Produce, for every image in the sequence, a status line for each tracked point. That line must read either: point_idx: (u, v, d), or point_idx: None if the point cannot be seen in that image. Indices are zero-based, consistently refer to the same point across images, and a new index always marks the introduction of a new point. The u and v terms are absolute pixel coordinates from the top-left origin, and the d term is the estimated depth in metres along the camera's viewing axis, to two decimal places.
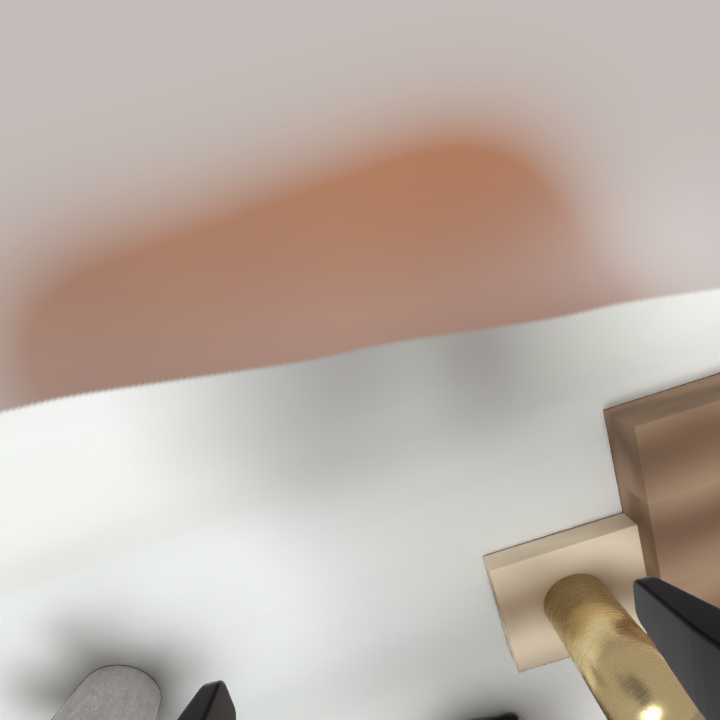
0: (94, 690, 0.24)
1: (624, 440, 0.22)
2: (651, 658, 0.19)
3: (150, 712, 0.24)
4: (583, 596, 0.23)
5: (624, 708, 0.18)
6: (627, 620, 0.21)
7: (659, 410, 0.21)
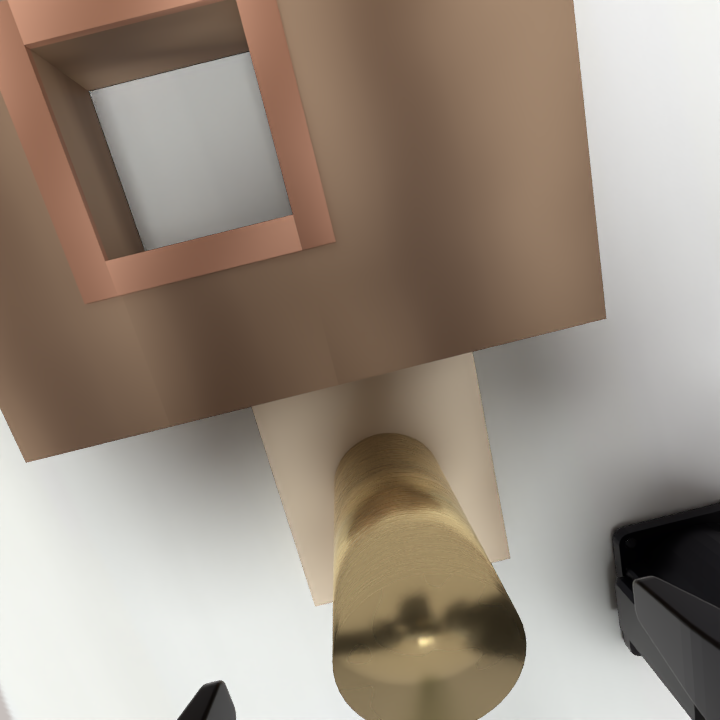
0: None
1: None
2: (334, 585, 0.10)
3: None
4: None
5: None
6: (339, 516, 0.12)
7: None
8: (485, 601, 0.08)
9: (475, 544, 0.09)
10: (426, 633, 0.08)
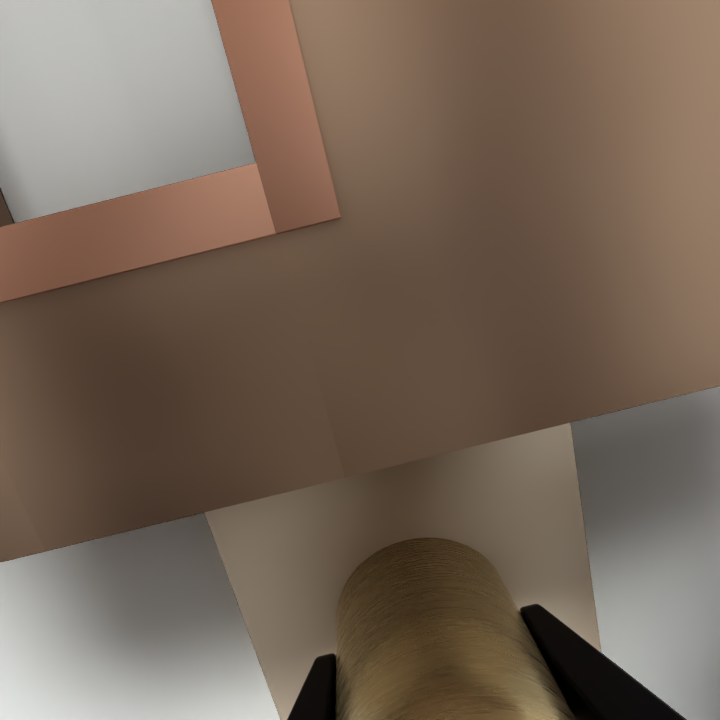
0: None
1: None
2: None
3: None
4: None
5: None
6: None
7: None
8: None
9: None
10: None
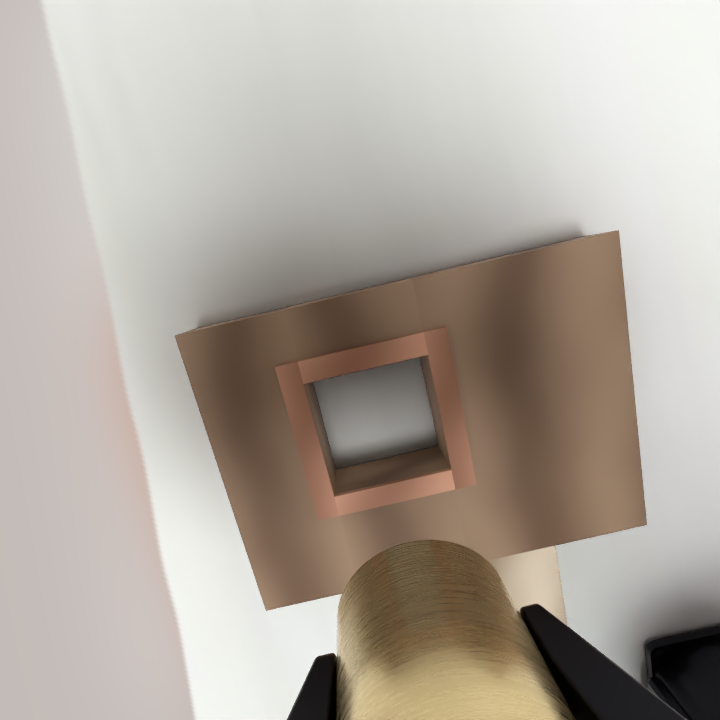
0: None
1: None
2: None
3: None
4: None
5: None
6: None
7: None
8: None
9: None
10: None
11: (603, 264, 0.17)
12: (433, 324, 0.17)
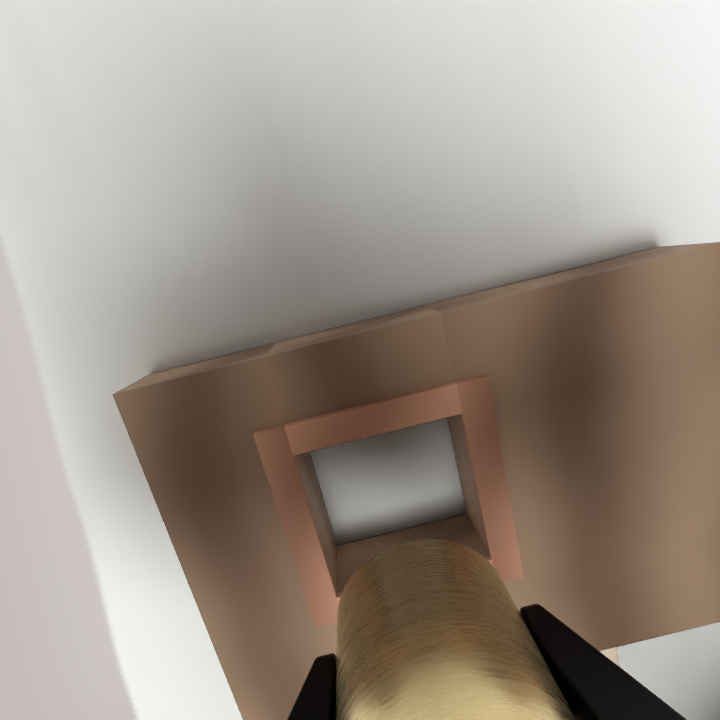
0: None
1: None
2: None
3: None
4: None
5: None
6: None
7: None
8: None
9: None
10: None
11: (700, 288, 0.12)
12: (469, 373, 0.13)
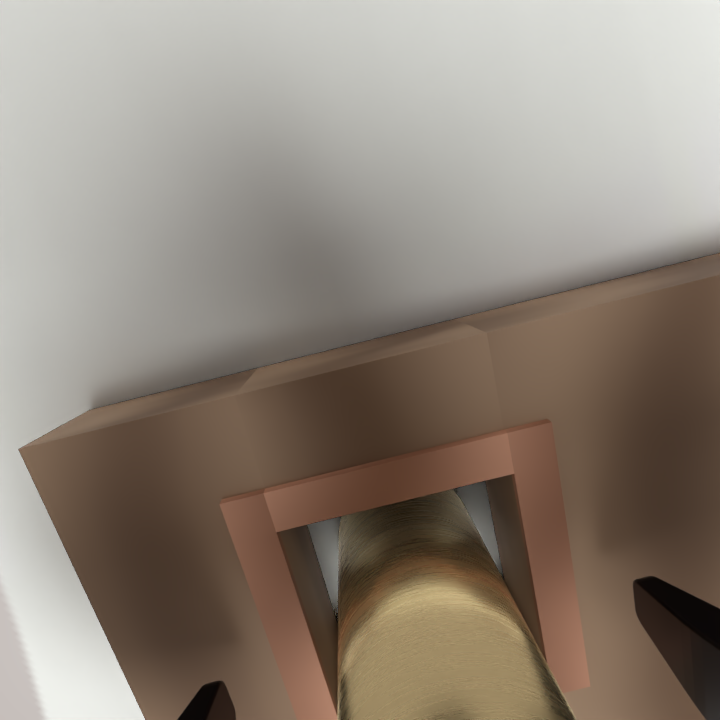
0: None
1: None
2: (339, 714, 0.07)
3: None
4: None
5: None
6: (345, 594, 0.09)
7: None
8: None
9: (538, 661, 0.07)
10: None
11: None
12: (525, 416, 0.09)
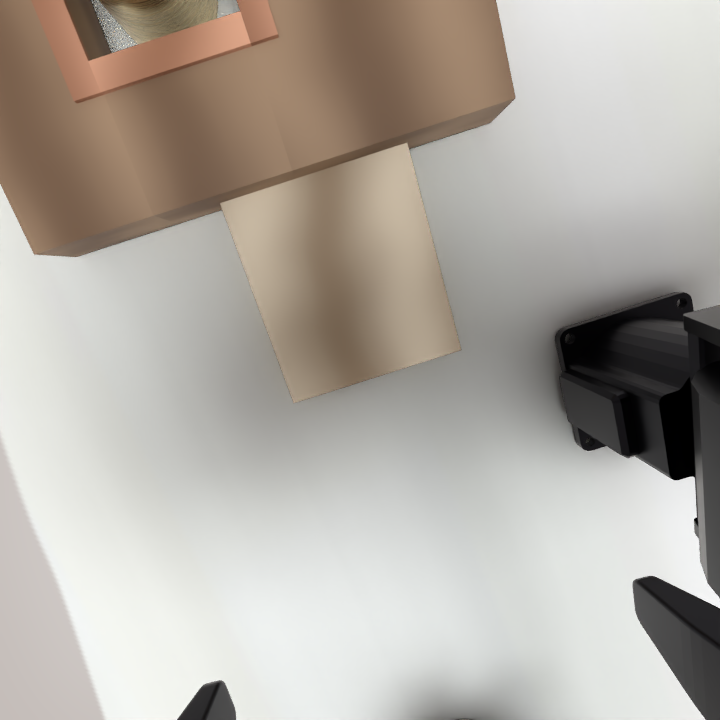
0: None
1: (84, 245, 0.16)
2: None
3: None
4: None
5: None
6: None
7: None
8: None
9: None
10: None
11: None
12: None
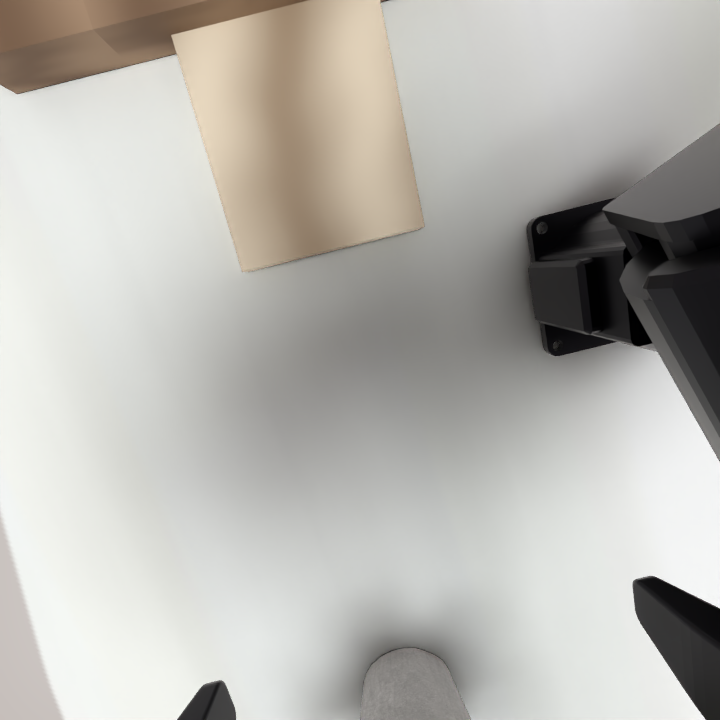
0: (360, 718, 0.22)
1: (20, 68, 0.15)
2: None
3: (402, 671, 0.22)
4: None
5: None
6: None
7: None
8: None
9: None
10: None
11: None
12: None
